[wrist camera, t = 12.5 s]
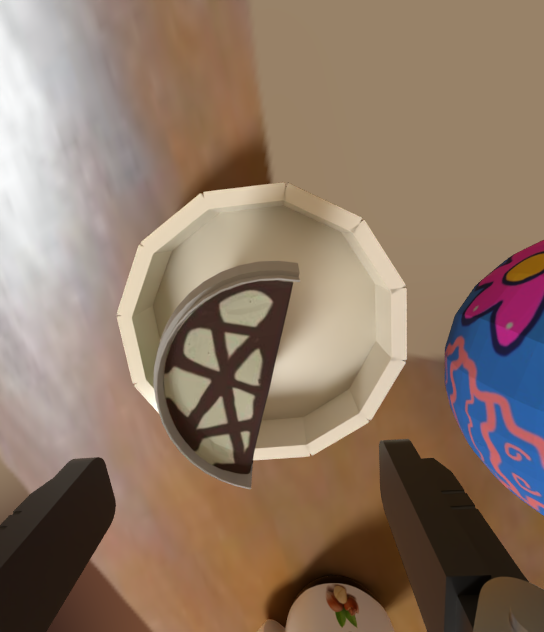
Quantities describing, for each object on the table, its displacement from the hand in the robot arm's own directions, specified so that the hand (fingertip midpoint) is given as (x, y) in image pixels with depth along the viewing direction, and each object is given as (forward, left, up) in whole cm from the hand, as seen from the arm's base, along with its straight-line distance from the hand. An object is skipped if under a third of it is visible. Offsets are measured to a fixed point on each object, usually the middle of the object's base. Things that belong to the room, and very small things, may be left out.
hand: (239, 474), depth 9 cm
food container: (+3, 0, -16) cm, 16 cm away
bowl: (0, 0, -17) cm, 17 cm away
